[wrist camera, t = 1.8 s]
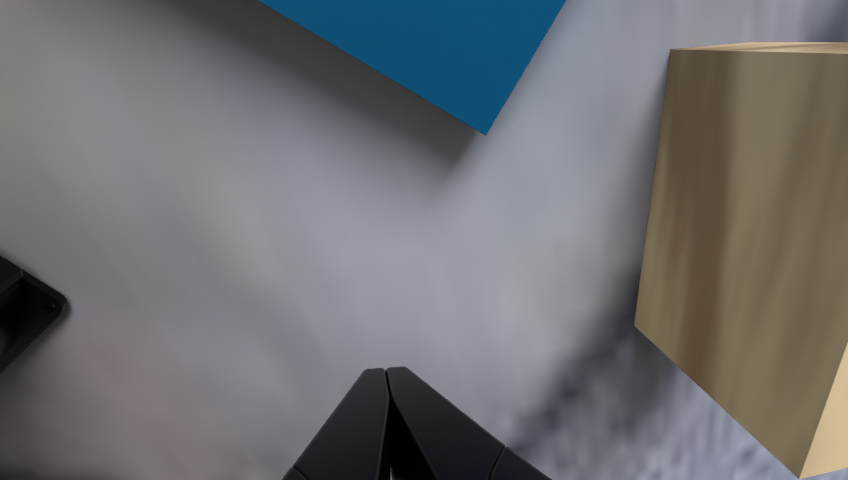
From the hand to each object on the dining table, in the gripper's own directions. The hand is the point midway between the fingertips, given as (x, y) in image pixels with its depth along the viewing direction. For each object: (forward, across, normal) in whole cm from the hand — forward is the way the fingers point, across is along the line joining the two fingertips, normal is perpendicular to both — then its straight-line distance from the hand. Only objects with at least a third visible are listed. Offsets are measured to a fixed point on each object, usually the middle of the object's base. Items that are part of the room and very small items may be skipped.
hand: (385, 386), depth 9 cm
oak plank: (+12, +16, 0) cm, 20 cm away
